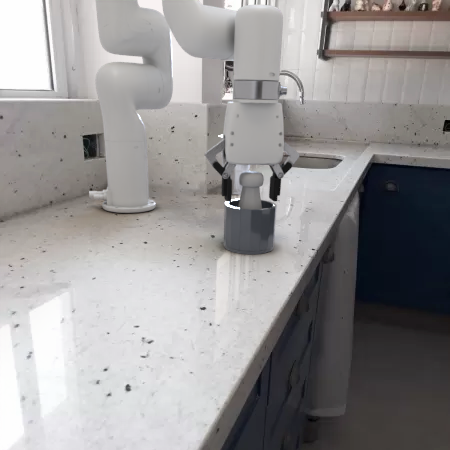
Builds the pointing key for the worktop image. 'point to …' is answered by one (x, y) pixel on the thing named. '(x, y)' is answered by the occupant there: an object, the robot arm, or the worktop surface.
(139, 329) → the worktop surface
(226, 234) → the grey mortar cup
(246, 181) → the salt shaker
